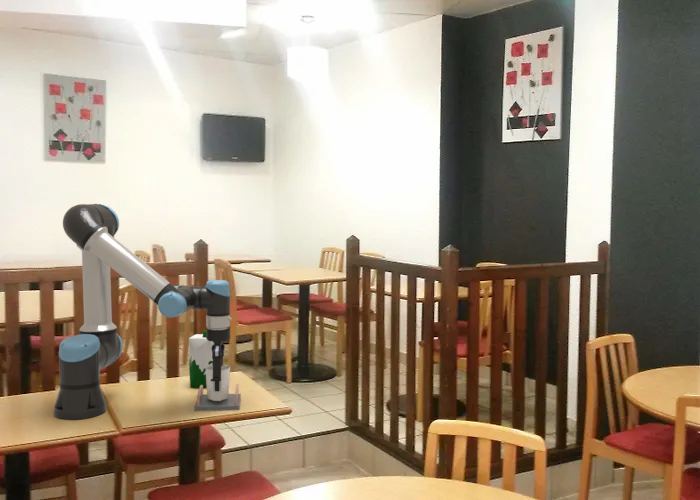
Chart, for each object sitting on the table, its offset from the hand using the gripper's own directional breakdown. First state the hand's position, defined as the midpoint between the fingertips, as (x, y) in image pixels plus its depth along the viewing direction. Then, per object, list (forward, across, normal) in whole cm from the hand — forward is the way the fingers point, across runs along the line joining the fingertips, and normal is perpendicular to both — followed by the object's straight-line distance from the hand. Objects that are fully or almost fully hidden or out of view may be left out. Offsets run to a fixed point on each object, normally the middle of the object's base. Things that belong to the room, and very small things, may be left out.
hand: (218, 396), depth 223 cm
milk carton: (+3, +22, +7) cm, 24 cm away
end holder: (+2, 0, 0) cm, 2 cm away
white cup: (+1, 0, 0) cm, 1 cm away
